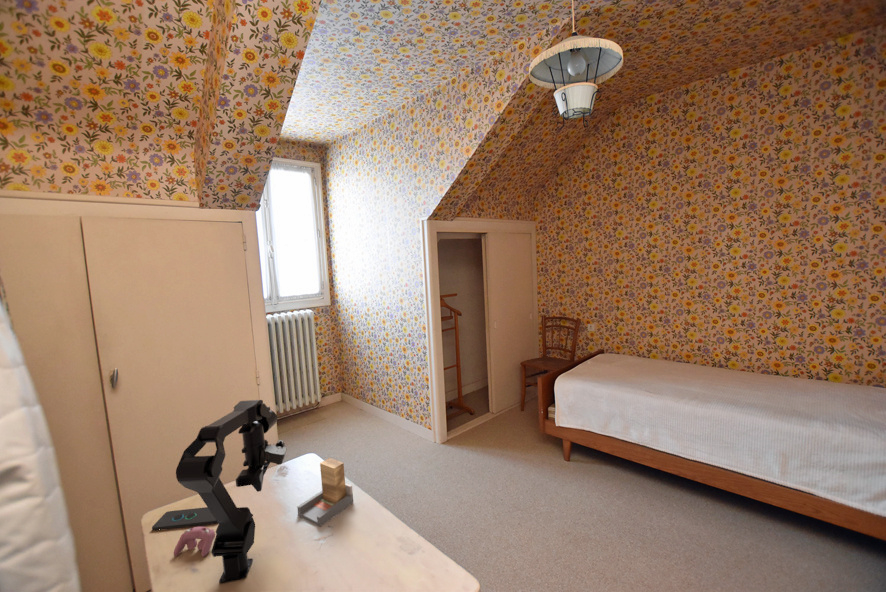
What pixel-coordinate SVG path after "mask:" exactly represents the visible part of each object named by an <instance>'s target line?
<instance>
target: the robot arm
mask: <svg viewBox="0 0 886 592" xmlns="http://www.w3.org/2000/svg"><path fill="white" fill-rule="evenodd" d="M263 401H264V400H263V399H252V400H240V401H239V402H238V403H237V404H235V405H234V407H233V410H232V411H231V412H229V413H227V414H226V415H224V416H222V417H221V418H219V419H217V420H215V421H213V422H212V423H210V424H209V425H204V426H203V427H201V428H200V429H199V431H198V434H197V436H196V438H195V439H194V440H193V441H192V442H191V443H190V444H189V445H188V446H187V447H186V448H185V449H184V451H183V453H182V455H181V457H180V458H179V462H178V464H177V467H176V469H175V478H176V480H177V482H178V484H180V485H181V486H182V487H184V489H188V490H190V491H193V492H196V493H197V494H198V495H199V497H200V498H201V500H202V501H203V503H204V504H205V505H206V507H208V508H209V510H210V511H211V513H212V514H213V516H214V517H215V519H216V520H217V522H218V525H217V528H216V529H215V538H214V540H213V543H212V544H213V545H212V548H211V552H210V553H211V555H212V557H213V558H215V557H221V559H222V566H223V567H222V569H223V572H222V573H221V576H220V578H219V580H218V583H219V584H223V583H229V582H233V581H239V580H244V579H246V578H247V576H248V574H249V571H250V570H251V566H252V564H253V558H248V552H249V551H250V550H251V548H252V547H253V545H254V544H255V533H256V522H255V520H254V519H255V518H254V514H253V513H252V512H251V510H250V508H249V507H247V506H243V507H241V506H240V507H237V505H236V504H235V502H234V500H233V498H232V497H231V495H230V493H229V491H228V490H227V489H226V487H225V485H224V483H223V482H222V480H221V475H222V471H223V467H222V466H223V463H224V461H225V457H226V450H225V445H224V442H225V440H226V437H228V436H229V435H231V434H232V433H233V432H235V431H237V430H238V429H239V430H238V432H237V433H238V434H240V435H241V434H242V443H243V444H242V446H243V447H242V449H241V454H244V461H243V462H242V466H243V467H247V468H246V469H242V470H241V471H240V472H239V473H238V475H237V476H236V478H235V486H236V487H237V488H240V487H245V486H246V487H248V486H252V487H253V488H254V490H256V492H261V491H262V489H263V483H264V477H265V474H266V472H267V470H268V468H269V466H270V464H271V463H272V464H276V465H282V464H283V461H284V460H285V457H286V452H287V446H286V445H285V441H284V440H282V439H280V440H278V441H277V442H276V443H275V444H274V443H273V444H269V441H268V440H267V439H265V434H266V433H268V432H269V431H270V430H271V429H272V428H273V427H274V426H275V425H276V424H277V422H278V415H277V414H276V412H275V411H274V410H271V407H270V406H267V405H266V403H264V402H263ZM207 443H214V444H215V449H216V451H215V454H214V455H211V454H210V455H197V454H198V453H199V452H200V451H201V450H202V449H203V448H204V447H205V445H206V444H207Z"/></svg>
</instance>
